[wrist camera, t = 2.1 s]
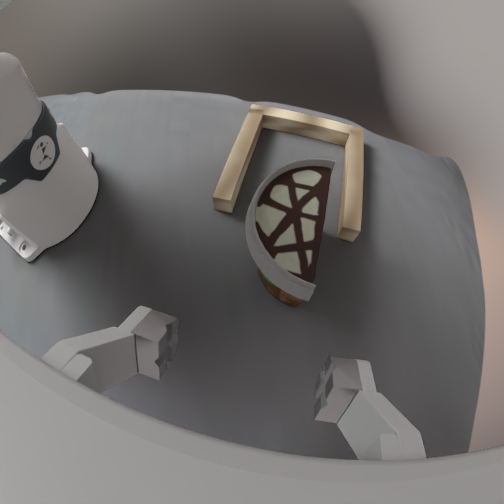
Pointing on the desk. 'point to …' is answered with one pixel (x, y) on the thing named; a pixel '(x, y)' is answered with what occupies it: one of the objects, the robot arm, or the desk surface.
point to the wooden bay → (306, 127)
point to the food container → (289, 227)
